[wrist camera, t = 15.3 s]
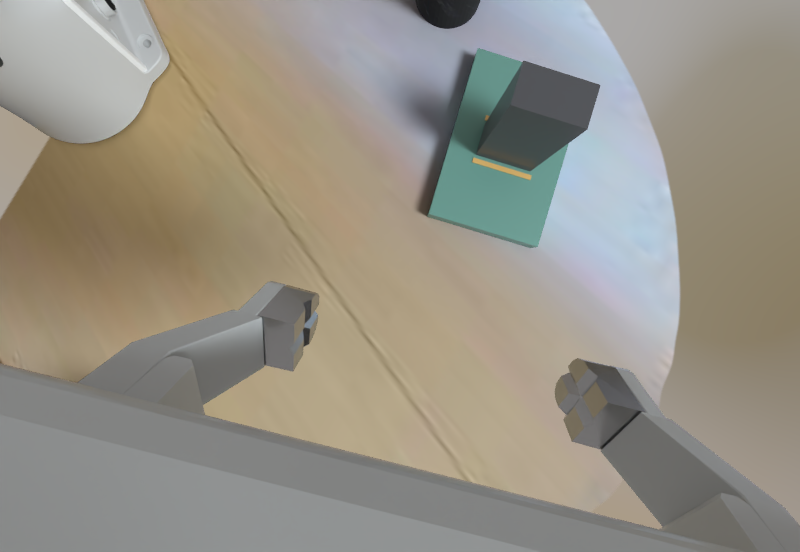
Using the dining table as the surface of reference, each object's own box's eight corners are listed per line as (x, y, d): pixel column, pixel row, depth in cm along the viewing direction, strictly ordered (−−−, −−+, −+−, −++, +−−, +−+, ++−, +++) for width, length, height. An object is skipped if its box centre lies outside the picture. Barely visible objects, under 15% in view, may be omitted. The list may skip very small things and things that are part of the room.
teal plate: (427, 216, 32) (434, 204, 26) (474, 58, 32) (490, 13, 26) (530, 247, 32) (559, 242, 27) (577, 91, 32) (615, 53, 27)
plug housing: (475, 154, 30) (510, 105, 21) (485, 123, 30) (523, 60, 21) (530, 171, 30) (587, 129, 21) (539, 140, 30) (600, 84, 21)
